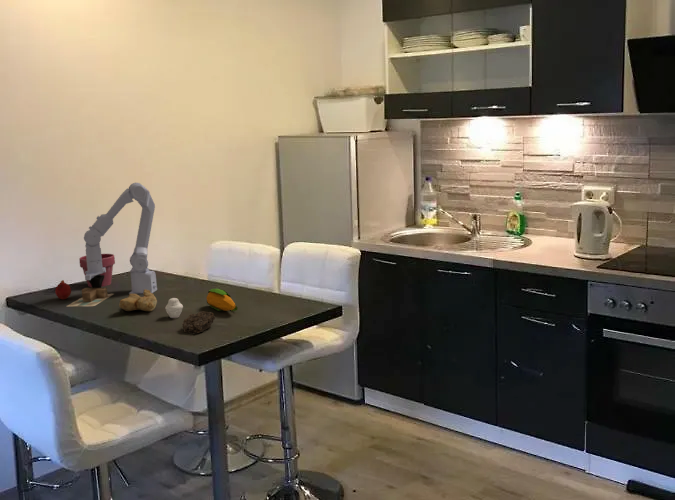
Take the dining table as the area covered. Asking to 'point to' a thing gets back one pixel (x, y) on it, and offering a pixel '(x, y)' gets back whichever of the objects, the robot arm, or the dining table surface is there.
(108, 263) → the plant pot
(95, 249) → the robot arm
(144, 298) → the ginger root
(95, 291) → the t block
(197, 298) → the dining table surface
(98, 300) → the board
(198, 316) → the dark brown lumpy piece
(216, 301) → the corn
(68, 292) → the onion
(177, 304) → the white jar
